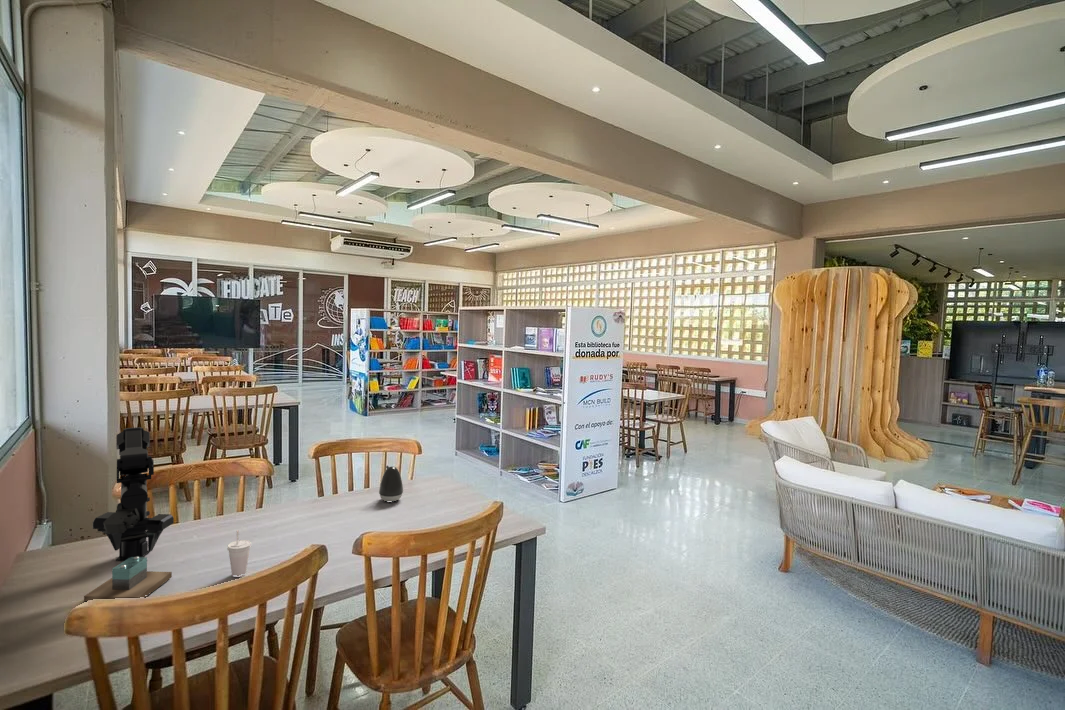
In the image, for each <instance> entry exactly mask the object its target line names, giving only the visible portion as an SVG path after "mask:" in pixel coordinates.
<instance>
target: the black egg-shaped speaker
mask: <svg viewBox="0 0 1065 710" xmlns="http://www.w3.org/2000/svg"><path fill="white" fill-rule="evenodd" d="M385 467H386V470H385V471H384V472H383V475H382V477H381V480H380V484H379V487H378V488H379V489H378V494H379V496H380V499H381V500H382V501H383V500H384V501H383V502H385V501H396V500H398V501H399V500H400V499H401V498H402V496H403V494H404V485H403V480H402V476H401V473H400V470H398V468H397V467H396V466H393V465H392V466H389V465H386V466H385ZM396 502H397V501H396Z"/></svg>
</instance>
